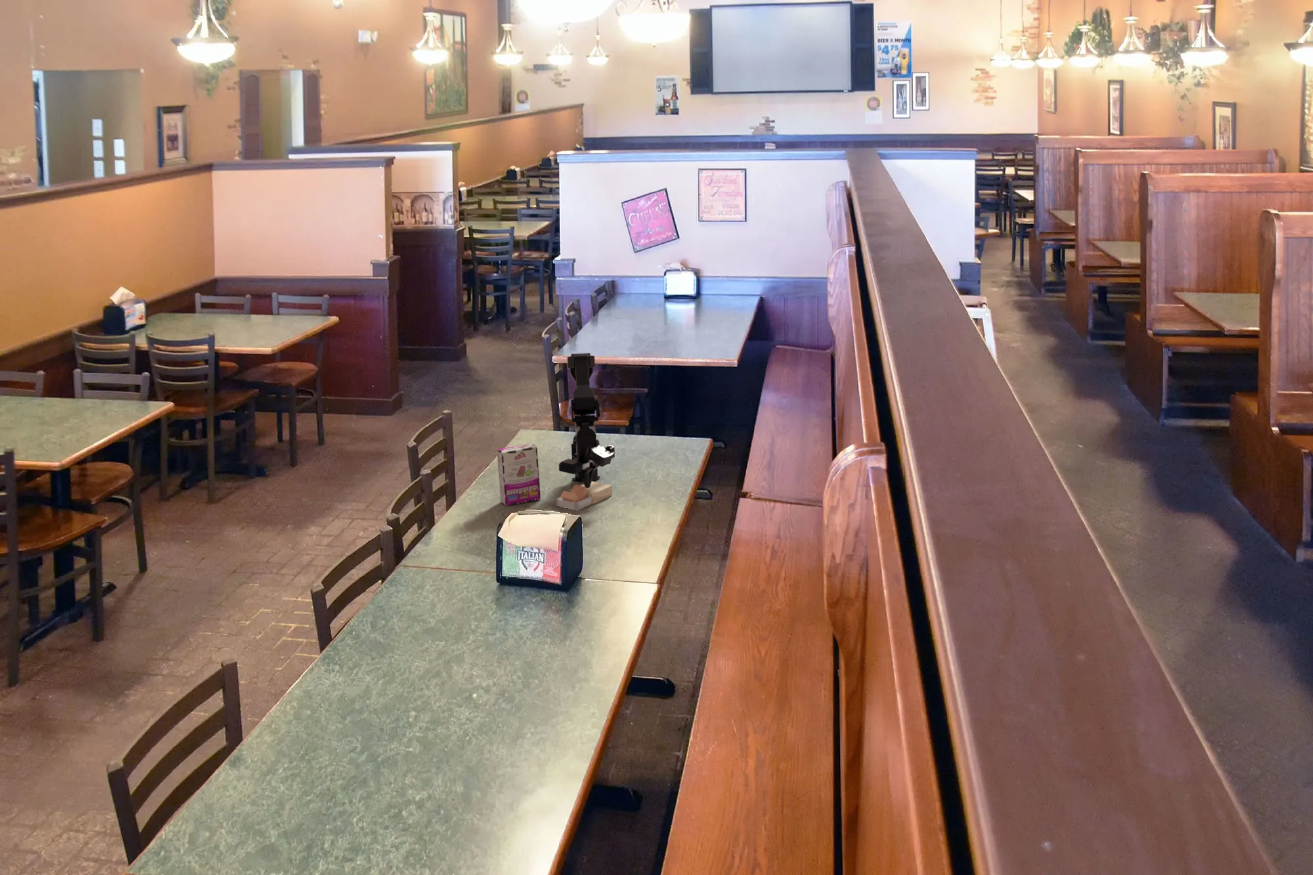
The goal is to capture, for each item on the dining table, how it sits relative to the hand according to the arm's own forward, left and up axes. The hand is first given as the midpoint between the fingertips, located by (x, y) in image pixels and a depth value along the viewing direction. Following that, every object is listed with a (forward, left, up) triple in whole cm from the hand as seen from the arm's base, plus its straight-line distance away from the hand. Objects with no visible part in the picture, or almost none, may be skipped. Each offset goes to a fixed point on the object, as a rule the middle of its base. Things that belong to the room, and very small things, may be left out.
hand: (587, 487), depth 336 cm
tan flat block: (0, +1, -3) cm, 4 cm away
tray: (0, -7, -3) cm, 7 cm away
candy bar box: (-16, -12, -4) cm, 20 cm away
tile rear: (0, -4, -1) cm, 4 cm away
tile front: (0, -8, 0) cm, 8 cm away
